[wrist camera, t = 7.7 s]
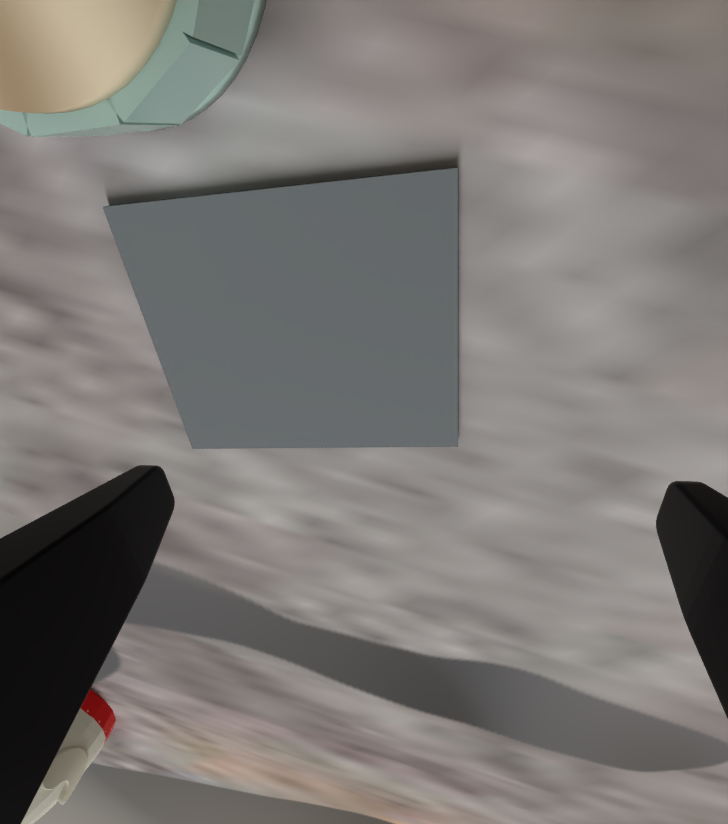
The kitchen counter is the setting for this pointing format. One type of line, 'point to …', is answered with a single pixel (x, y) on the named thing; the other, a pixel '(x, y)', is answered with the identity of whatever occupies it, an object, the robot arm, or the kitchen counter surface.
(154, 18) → the lid
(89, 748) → the kitchen timer
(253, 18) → the bowl
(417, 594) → the kitchen counter surface
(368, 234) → the mat
